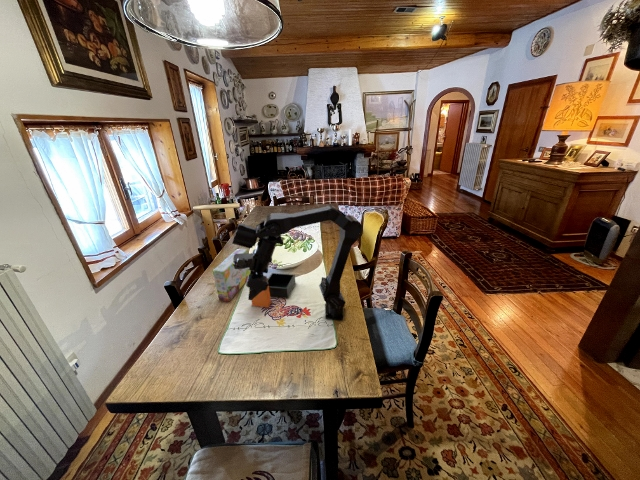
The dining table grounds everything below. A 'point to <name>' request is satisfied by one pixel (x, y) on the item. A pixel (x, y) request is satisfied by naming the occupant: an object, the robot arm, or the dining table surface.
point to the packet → (262, 299)
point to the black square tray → (281, 285)
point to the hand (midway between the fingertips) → (250, 291)
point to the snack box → (230, 277)
